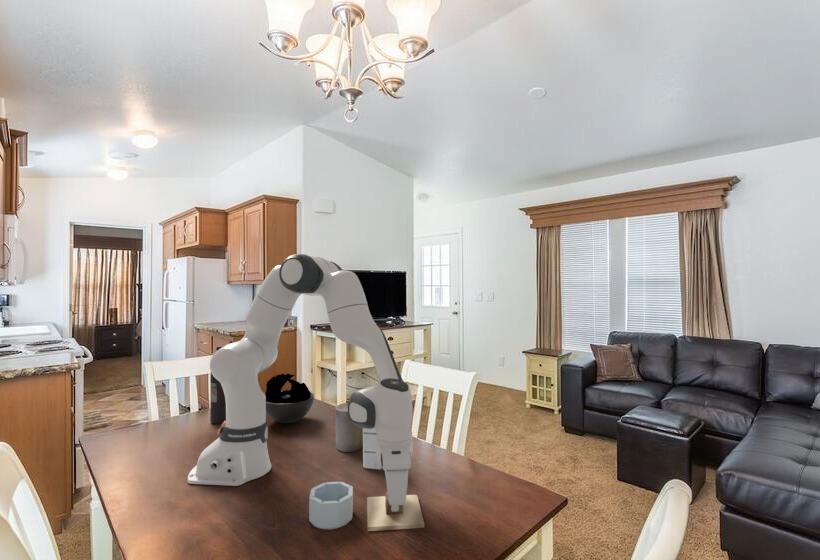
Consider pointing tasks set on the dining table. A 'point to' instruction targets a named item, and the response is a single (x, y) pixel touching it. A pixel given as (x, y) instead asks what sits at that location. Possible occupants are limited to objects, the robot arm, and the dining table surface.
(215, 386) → the wine bottle
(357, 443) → the pillar candle
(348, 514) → the bowl
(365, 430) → the syrup box
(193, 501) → the dining table surface
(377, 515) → the lid
